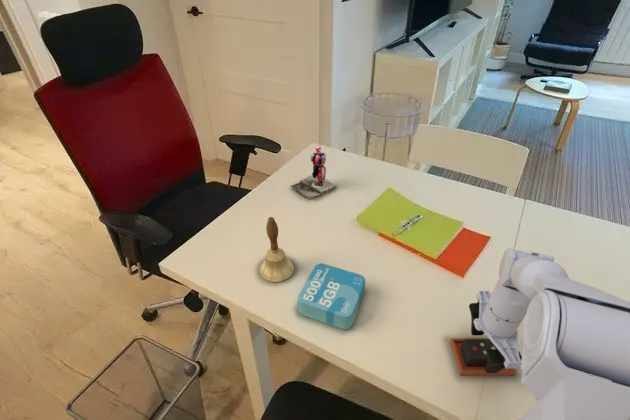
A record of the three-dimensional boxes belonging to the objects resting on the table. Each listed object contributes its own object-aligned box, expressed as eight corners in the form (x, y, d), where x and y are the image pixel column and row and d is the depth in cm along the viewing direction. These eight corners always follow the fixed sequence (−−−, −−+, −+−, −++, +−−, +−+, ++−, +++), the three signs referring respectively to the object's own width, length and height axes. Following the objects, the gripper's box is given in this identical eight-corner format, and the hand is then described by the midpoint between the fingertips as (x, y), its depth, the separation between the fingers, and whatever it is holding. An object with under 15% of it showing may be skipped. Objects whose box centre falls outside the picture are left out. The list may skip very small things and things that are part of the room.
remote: (495, 347, 73) (499, 338, 72) (503, 366, 70) (508, 358, 68) (459, 347, 74) (463, 338, 72) (466, 366, 70) (470, 358, 68)
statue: (315, 179, 123) (318, 136, 114) (335, 191, 117) (340, 147, 109) (289, 189, 116) (291, 144, 108) (309, 202, 111) (313, 155, 102)
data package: (350, 319, 74) (295, 300, 77) (349, 332, 77) (296, 313, 80) (367, 276, 82) (317, 261, 86) (365, 289, 85) (317, 274, 89)
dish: (499, 341, 75) (501, 338, 74) (513, 375, 69) (515, 372, 69) (449, 341, 75) (450, 338, 74) (460, 375, 69) (461, 372, 69)
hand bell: (260, 284, 86) (253, 233, 76) (259, 258, 93) (252, 209, 83) (296, 280, 87) (293, 229, 77) (292, 255, 94) (289, 205, 84)
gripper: (468, 275, 68) (451, 319, 76) (499, 347, 57) (475, 390, 65) (507, 275, 68) (485, 319, 76) (545, 347, 57) (515, 389, 65)
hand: (483, 351), depth 71 cm, fingers open, 7 cm apart
